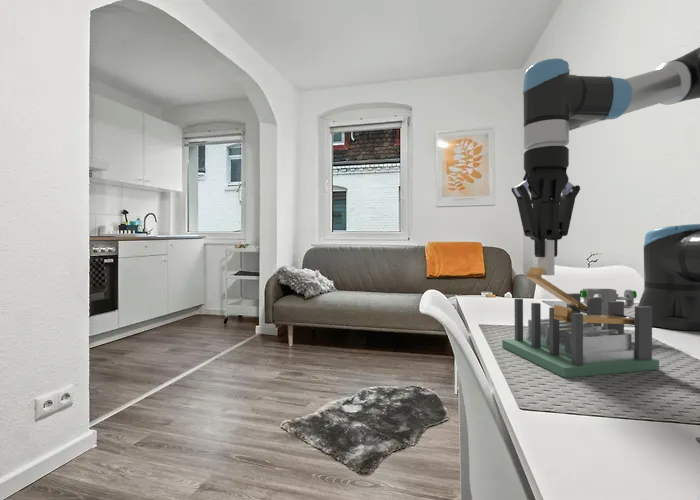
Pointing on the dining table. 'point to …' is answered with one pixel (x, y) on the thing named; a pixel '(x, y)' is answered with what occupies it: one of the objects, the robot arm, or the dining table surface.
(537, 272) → the strap
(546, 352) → the socket board
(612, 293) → the mechanical component
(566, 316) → the strap
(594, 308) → the set of grey pegs
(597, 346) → the heatsink
